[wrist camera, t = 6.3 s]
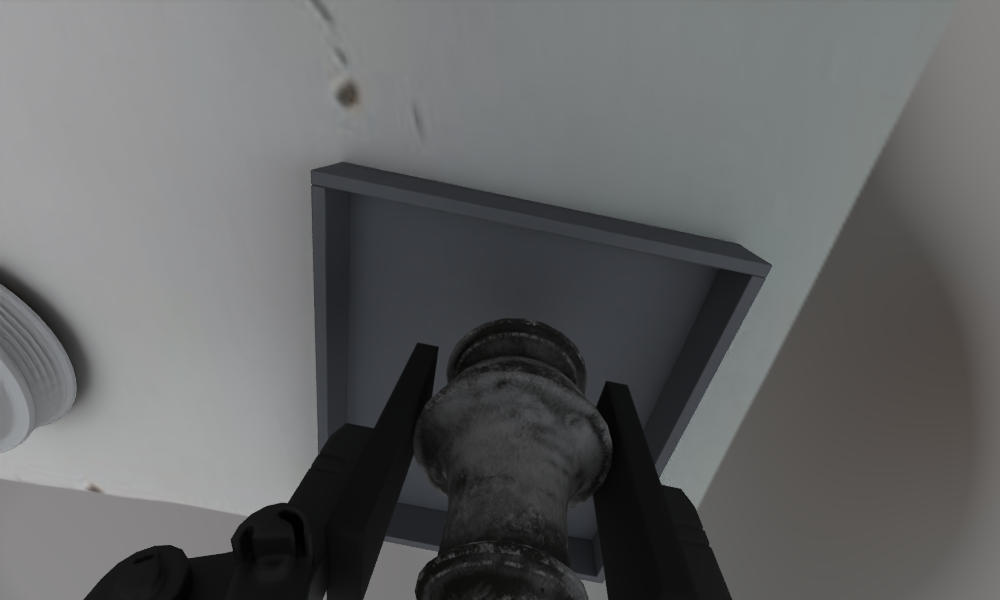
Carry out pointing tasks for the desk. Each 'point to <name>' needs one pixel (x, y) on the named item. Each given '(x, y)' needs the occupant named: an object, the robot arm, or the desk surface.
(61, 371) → the grey pulley wheel
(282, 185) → the desk surface
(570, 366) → the chess piece
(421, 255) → the tray
